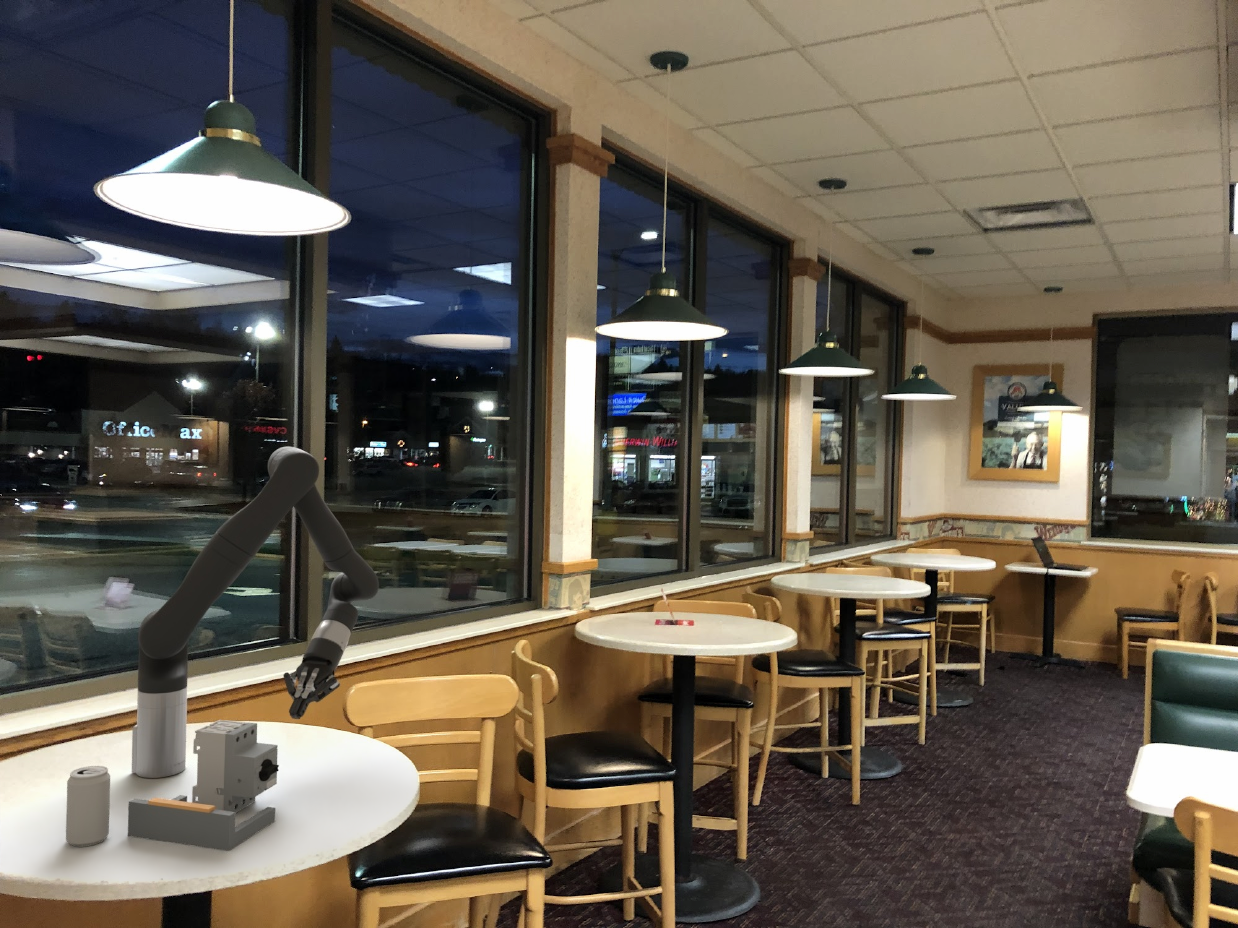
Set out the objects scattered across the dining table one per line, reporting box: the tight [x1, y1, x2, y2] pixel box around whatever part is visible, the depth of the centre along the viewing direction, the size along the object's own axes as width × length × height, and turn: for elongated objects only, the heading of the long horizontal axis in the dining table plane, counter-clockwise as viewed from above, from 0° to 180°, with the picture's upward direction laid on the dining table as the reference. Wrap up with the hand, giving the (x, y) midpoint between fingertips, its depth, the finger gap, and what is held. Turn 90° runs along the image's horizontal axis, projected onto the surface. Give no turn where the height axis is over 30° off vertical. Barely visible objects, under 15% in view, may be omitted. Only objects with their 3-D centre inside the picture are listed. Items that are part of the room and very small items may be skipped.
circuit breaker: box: [191, 719, 280, 814], centre depth 174 cm, size 8×14×15 cm, turn 78°
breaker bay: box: [127, 794, 276, 852], centre depth 165 cm, size 20×13×7 cm, turn 77°
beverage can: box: [65, 765, 111, 848], centre depth 158 cm, size 6×6×12 cm
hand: (294, 716), depth 192 cm, fingers closed
